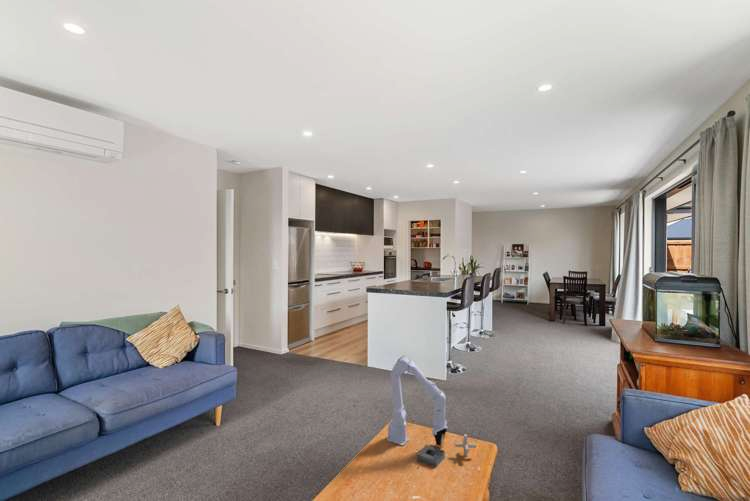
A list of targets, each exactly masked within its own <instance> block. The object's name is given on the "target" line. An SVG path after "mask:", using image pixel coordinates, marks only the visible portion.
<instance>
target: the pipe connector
mask: <svg viewBox="0 0 750 501" xmlns="http://www.w3.org/2000/svg"><path fill="white" fill-rule="evenodd" d="M454 447H455V448H463V457H465V458H466V457H468V453H469V452H470V449H471V448H472V449H477V444H476V443H469V442H468V434H465V433H464V434H463V438H462V442H455V443H454Z"/></svg>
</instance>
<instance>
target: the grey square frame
mask: <svg viewBox="0 0 750 501" xmlns="http://www.w3.org/2000/svg"><path fill="white" fill-rule="evenodd" d="M445 452H446V451H445V450H443V449H441V448H438V447H434V446H432V445H428V444H425V445H424V446H423V447H422V448H421V450H420V451H418V453H417V454H416V461H417V462H420V463H423V464H425V465H429V466H432V467H434V468H437V467H438V466H439V465H440V463H441V462H442V461H443V460H444V459H445V456H446V455H445V454H446V453H445Z"/></svg>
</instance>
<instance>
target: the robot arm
mask: <svg viewBox="0 0 750 501" xmlns="http://www.w3.org/2000/svg"><path fill="white" fill-rule="evenodd" d="M404 373H406V374H410V375H411V374H412V375H413V376H414V377H415V378H416V380H418V381H419V382H420V383H421V384H422V385H423V386H422V387H423V390H424V391H425V392H426V393H427V395H428V396H429V397H430V398H431V399H432V400H433V404H434V408H433V410H434V411H433V413H434V414H433V416H434V418H433V419H434V420H433V422H434V423H433V428H432V431H431V434H432V435H433V437H434V441H435V445H436V444H437V445H441V439H442V435H443V434H444V438H445V436H446V433H447V430H448V428H449V426H447V425H448V420H447V419H446V399H447V398H446V394H445V392H444V391H443V390H441V389H439V388H438V386H437V385H436V382H434V381H432V380H429V379H427V377H426V376H425V375H424V374H423V372H422V371H421V370H420V368H418V366H417V365H416V363H415V361H413V360H412V359H411V358H410V356H408V355H402V356H400V357H399V358H398V359H397V361H396V363H395V364H394V366H393V367H392V369H391V371H390V382H391V391H392V401H393V402H392V403H393V411H392V414H393V416H392V418H391V421H389V423H388V426H387V439H386V441H388V442H389V443H394V444H397V445H399V446H404V445H405V444H406V443H408V441H409V440H410V438H409V437H407V421H406V417H407V410H406V409H405V405H404V403H403V402H404V401H403V393H402V383H401V375H402V374H404Z"/></svg>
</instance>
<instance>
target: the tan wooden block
mask: <svg viewBox="0 0 750 501" xmlns="http://www.w3.org/2000/svg"><path fill="white" fill-rule="evenodd" d="M444 441H445V437H444V434H443V435H442V439H441V445H437V444H436V443H435V448H438V449H442V448H443V447H444V444H445V442H444Z"/></svg>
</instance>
